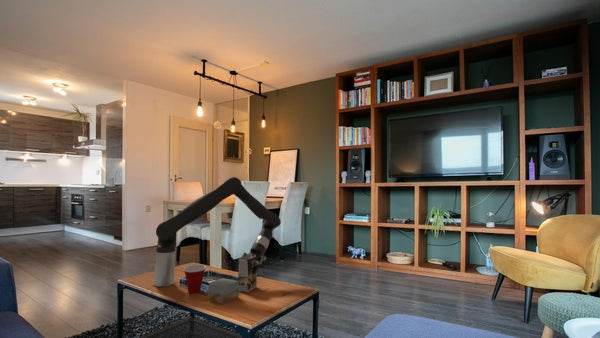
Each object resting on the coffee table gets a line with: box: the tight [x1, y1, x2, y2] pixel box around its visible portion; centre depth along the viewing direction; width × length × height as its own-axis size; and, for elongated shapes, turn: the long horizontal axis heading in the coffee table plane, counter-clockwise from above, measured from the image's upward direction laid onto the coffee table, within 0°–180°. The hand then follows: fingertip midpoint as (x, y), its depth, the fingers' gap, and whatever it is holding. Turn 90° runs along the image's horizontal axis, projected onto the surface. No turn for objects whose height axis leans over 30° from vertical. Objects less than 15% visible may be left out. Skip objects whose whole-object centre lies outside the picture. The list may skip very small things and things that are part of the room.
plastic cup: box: [182, 263, 207, 294], centre depth 157 cm, size 11×11×12 cm
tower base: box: [206, 290, 240, 305], centre depth 147 cm, size 10×10×4 cm
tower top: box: [208, 277, 238, 295], centre depth 147 cm, size 10×10×4 cm
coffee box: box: [237, 256, 258, 293], centre depth 162 cm, size 9×6×16 cm
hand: (246, 272), depth 161 cm, fingers open, 8 cm apart
